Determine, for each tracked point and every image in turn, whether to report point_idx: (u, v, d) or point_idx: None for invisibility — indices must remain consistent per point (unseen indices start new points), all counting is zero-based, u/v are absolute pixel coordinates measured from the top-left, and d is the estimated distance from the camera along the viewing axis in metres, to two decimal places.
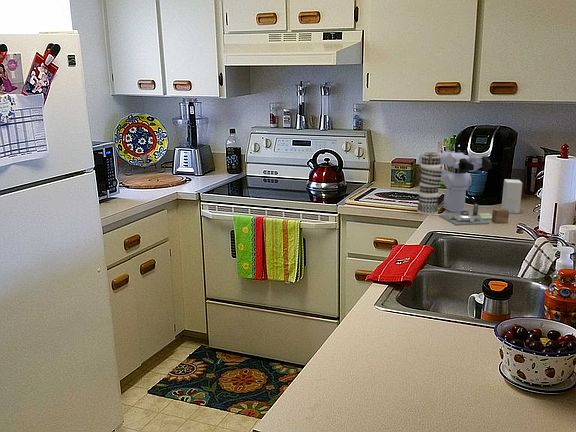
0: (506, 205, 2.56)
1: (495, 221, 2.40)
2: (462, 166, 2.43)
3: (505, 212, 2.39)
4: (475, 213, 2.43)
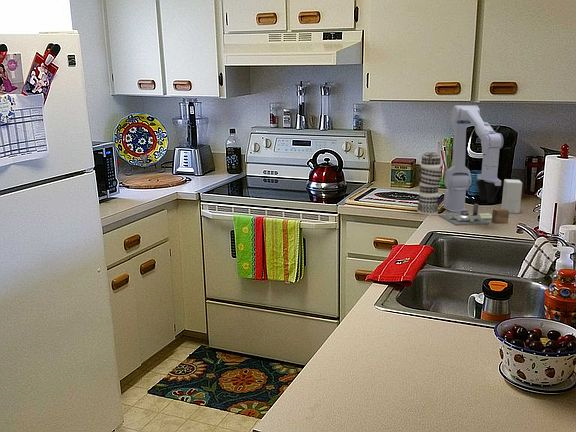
0: (506, 205, 2.56)
1: (495, 221, 2.40)
2: None
3: (505, 212, 2.39)
4: (475, 213, 2.43)
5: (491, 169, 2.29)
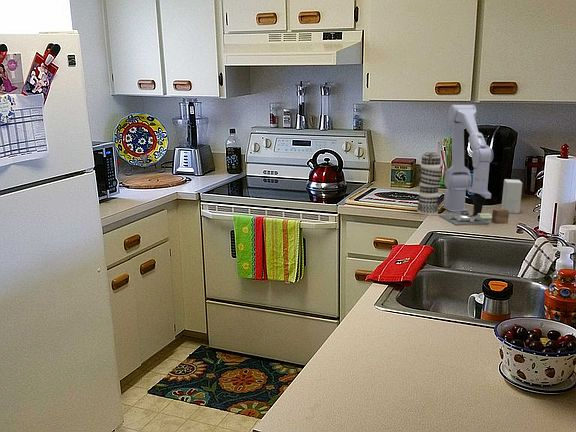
0: (506, 205, 2.56)
1: (495, 221, 2.40)
2: None
3: (505, 212, 2.39)
4: (475, 213, 2.43)
5: (481, 182, 2.36)
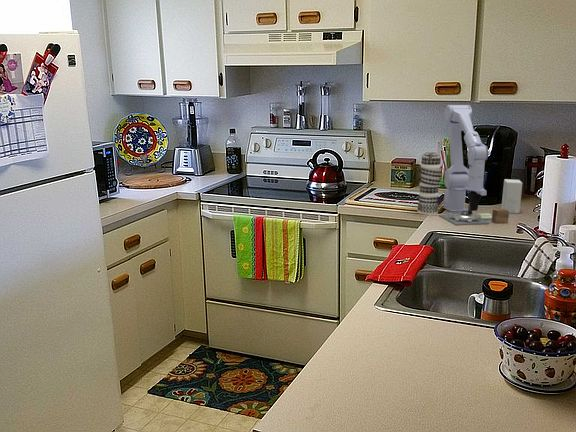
0: (506, 205, 2.56)
1: (495, 221, 2.40)
2: None
3: (505, 212, 2.39)
4: (471, 212, 2.45)
5: (477, 180, 2.39)
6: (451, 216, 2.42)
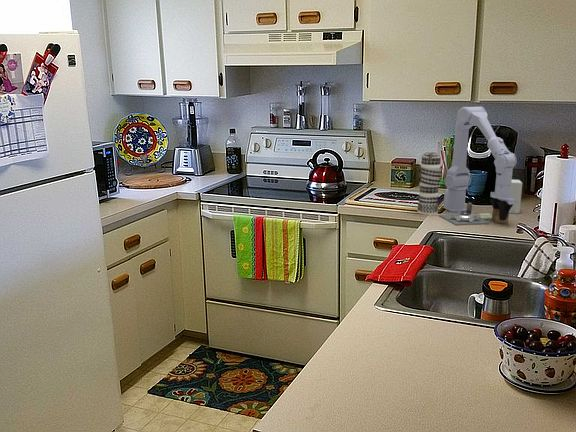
0: None
1: (495, 221, 2.39)
2: None
3: None
4: (470, 211, 2.46)
5: (504, 188, 2.35)
6: (452, 216, 2.42)
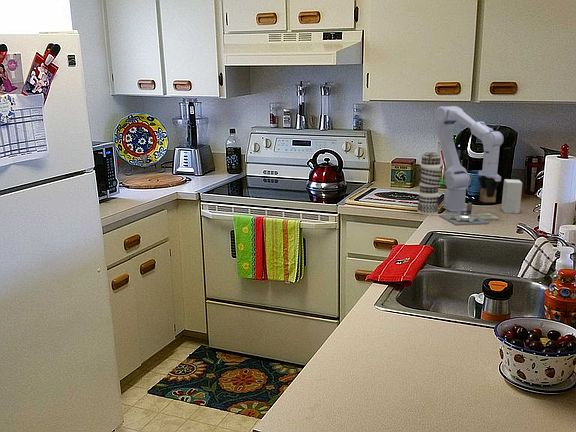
0: (506, 205, 2.56)
1: (483, 200, 2.46)
2: None
3: None
4: (470, 211, 2.46)
5: (491, 166, 2.41)
6: (452, 216, 2.42)
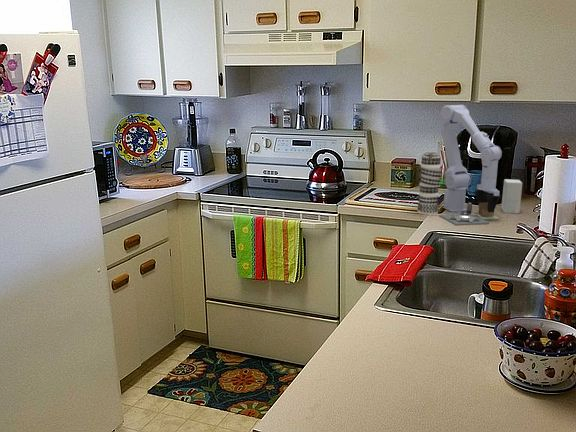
0: (506, 205, 2.56)
1: (481, 214, 2.47)
2: None
3: None
4: (470, 211, 2.46)
5: (490, 180, 2.43)
6: (452, 216, 2.42)
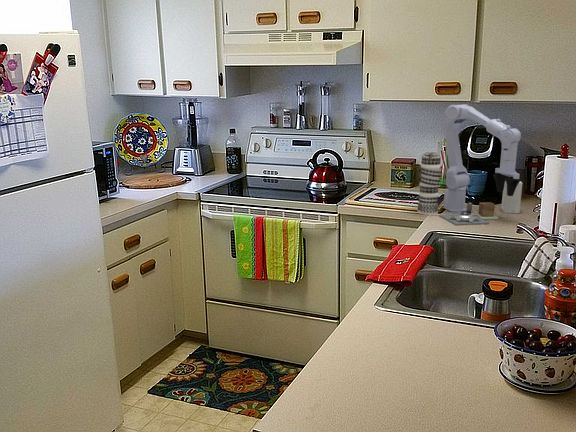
0: (506, 205, 2.56)
1: (481, 214, 2.47)
2: None
3: (491, 205, 2.46)
4: (470, 211, 2.46)
5: (509, 163, 2.38)
6: (452, 216, 2.42)
